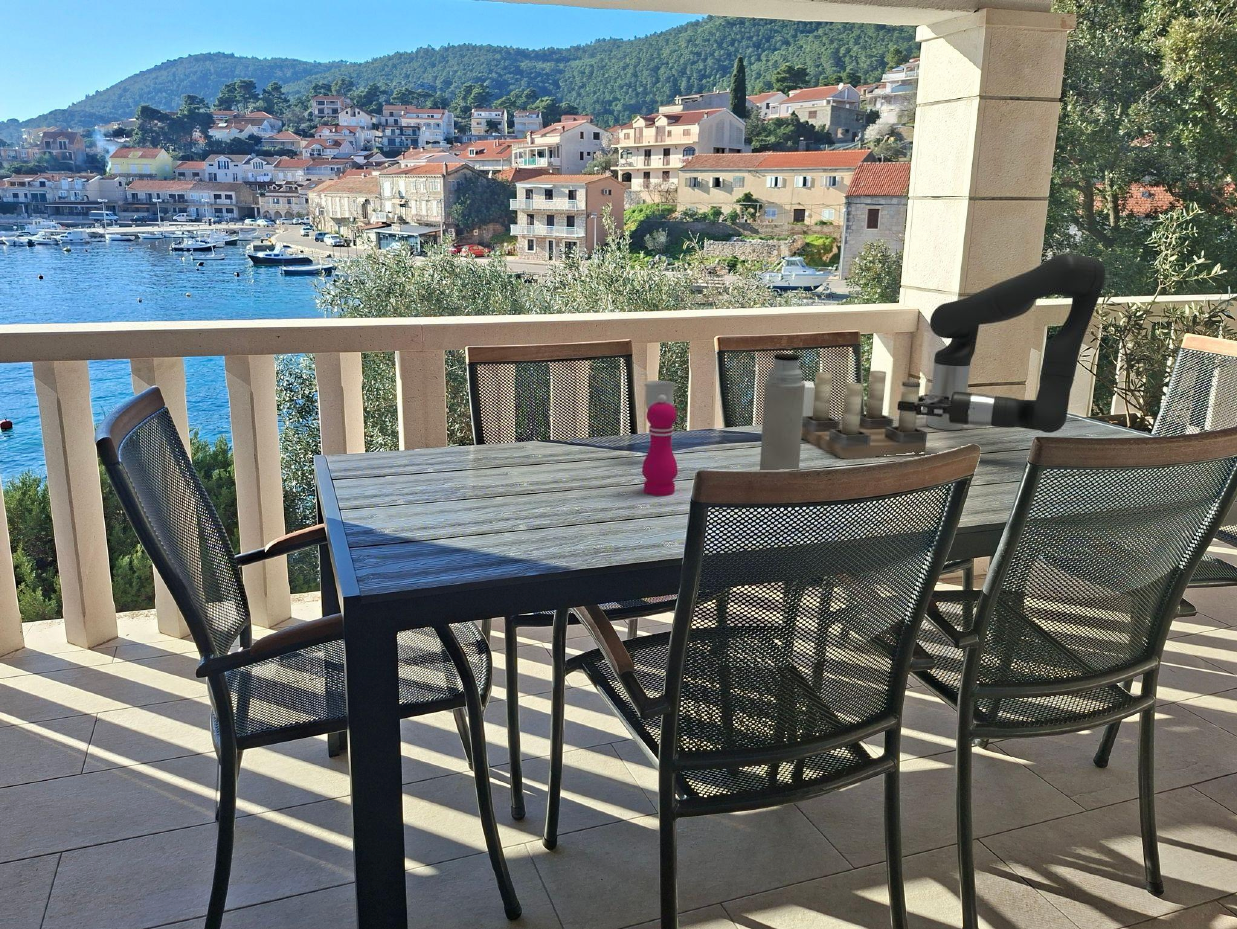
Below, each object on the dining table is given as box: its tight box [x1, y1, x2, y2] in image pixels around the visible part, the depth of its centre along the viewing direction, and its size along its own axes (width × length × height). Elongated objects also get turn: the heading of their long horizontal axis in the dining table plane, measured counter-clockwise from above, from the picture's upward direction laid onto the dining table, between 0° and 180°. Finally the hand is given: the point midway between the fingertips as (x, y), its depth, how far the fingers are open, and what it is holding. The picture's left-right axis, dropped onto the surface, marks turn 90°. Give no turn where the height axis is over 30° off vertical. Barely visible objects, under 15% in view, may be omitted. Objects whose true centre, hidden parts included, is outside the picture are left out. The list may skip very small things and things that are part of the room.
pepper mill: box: [641, 395, 679, 497], centre depth 191 cm, size 7×7×20 cm
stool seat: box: [801, 370, 928, 459], centre depth 232 cm, size 22×22×17 cm
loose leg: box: [897, 380, 921, 433], centre depth 227 cm, size 4×4×14 cm
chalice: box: [643, 380, 677, 411], centre depth 214 cm, size 7×7×18 cm
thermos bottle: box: [759, 353, 805, 471], centre depth 194 cm, size 8×8×28 cm
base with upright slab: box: [802, 380, 815, 416], centre depth 250 cm, size 9×9×12 cm
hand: (900, 402), depth 227 cm, fingers open, 8 cm apart
